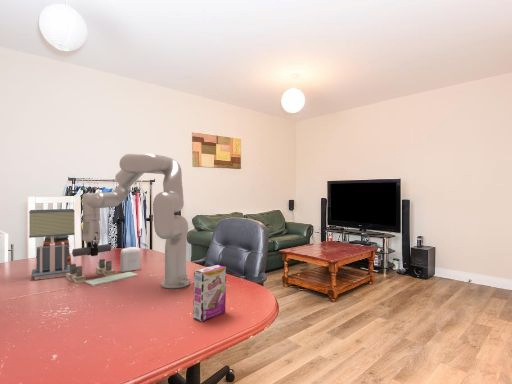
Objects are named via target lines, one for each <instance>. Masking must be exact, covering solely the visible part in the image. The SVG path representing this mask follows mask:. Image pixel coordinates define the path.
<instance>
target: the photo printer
mask: <svg viewBox="0 0 512 384" xmlns="http://www.w3.org/2000/svg"><path fill="white" fill-rule="evenodd" d="M119 267H120V269H119V271H120V272H121V273H126V272H132V271H138V270H140V269H141V248H140V247H135V246H129V247H125V248H122V249H121V250H120V266H119Z"/></svg>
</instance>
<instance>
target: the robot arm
mask: <svg viewBox="0 0 512 384" xmlns="http://www.w3.org/2000/svg"><path fill="white" fill-rule="evenodd" d="M119 168H120V170H119V171H118V172H116V174H115V176H114V177H115V180H116V182H117V183H118V185H117V186H116V188H115V189H114V190H113V191H111V192H109V191H108V192H107V191H106V192H88V193H84V194H82V236H81V237H82V241H84V242H85V244H86V245H85V246H86V247H91V254H88V255H87V256H90V257H96V256H98V255H99V253H98V245H100V240H101V226H100V225H101V223H100V221H101V209H107V208H116V207H118V206H119V205H120V204H121V203H123V202H124V200H126V198H127V197H128V196H129V193H130V191H131V187H132V186H133V185H135V183H136V182H137V180H139V179H140V178H141V177H142V176H143V175H144V174H153V175H154V174H158V175H164V178H163V181H162V187H163V191H162V192H158V194H156V195H155V197H154V199H153V202H152V215H153V216H152V217H153V227H154V232H155V234H156V236H157V237H158V238H160V239H162V240H165V243H164V280H162V281H161V282H160V286H161V287H162V288H165V289H180V288H186V287H187V286H189V285H190V282H191V279H189V278H188V274H187V241H188V240H187V239H188V233H189V232H188V231H189V222H188V220H187V219H186V217H184V216H182V215H178V214H177V215H175V213H178V212H180V211H181V210H183V208H184V204H185V203H184V202H185V201H184V190H183V189H184V188H183V176H182V175H183V173H182V168H181V165H180V163H179V162H178V161H177V160H176V159H174V158H171V157H169V156H164V155H161V154H160V155H159V154H154V153H126V154H125V155H123V156H121V158H120V160H119Z"/></svg>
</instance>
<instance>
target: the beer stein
mask: <svg viewBox="0 0 512 384" xmlns="http://www.w3.org/2000/svg"><path fill="white" fill-rule="evenodd" d="M69 238H70V235H65V236H54V243H55V246H56V245H62V242H64V245H67V266H68V265H70V264H72V257H71V256H72V255H71V253H70V247H71V245H70V240H69ZM50 243H51V236H49V237H44V241H43V243H42V244H43V247H44V246H50Z"/></svg>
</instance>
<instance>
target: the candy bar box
mask: <svg viewBox="0 0 512 384" xmlns="http://www.w3.org/2000/svg"><path fill="white" fill-rule="evenodd" d="M226 286H227V267H226V266H223V265H219V264H216V265H212V266H207V267H203V268H199V269H195V270H193V297H192V298H193V300H192V301H193V305H192V319H194V320H197V321H198V322H201V323H202V322H205V321H207V320H210V319H212V318H214V317H217V316H219V315H222V314H225V313H226V299H227V298H226V295H227V294H226V293H227V292H226V290H227V287H226Z"/></svg>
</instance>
